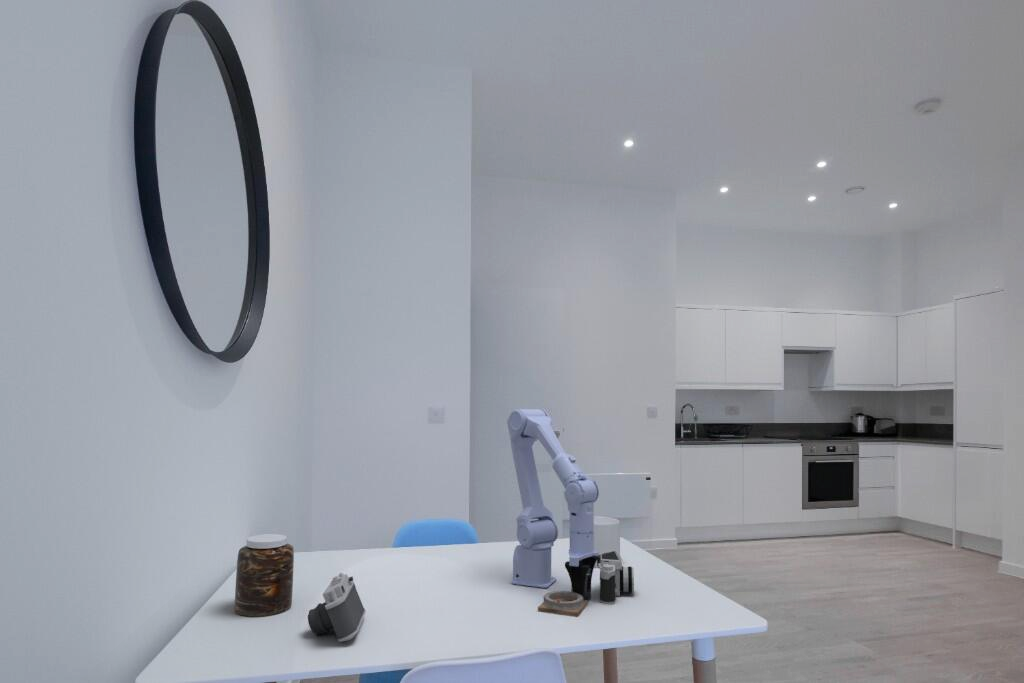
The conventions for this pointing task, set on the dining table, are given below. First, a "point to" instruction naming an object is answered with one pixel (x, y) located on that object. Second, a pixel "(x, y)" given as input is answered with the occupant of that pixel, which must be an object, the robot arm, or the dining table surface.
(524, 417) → the robot arm
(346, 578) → the camera
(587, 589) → the lens
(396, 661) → the dining table surface
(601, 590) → the camera
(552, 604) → the mount
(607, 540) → the cup
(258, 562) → the jar
